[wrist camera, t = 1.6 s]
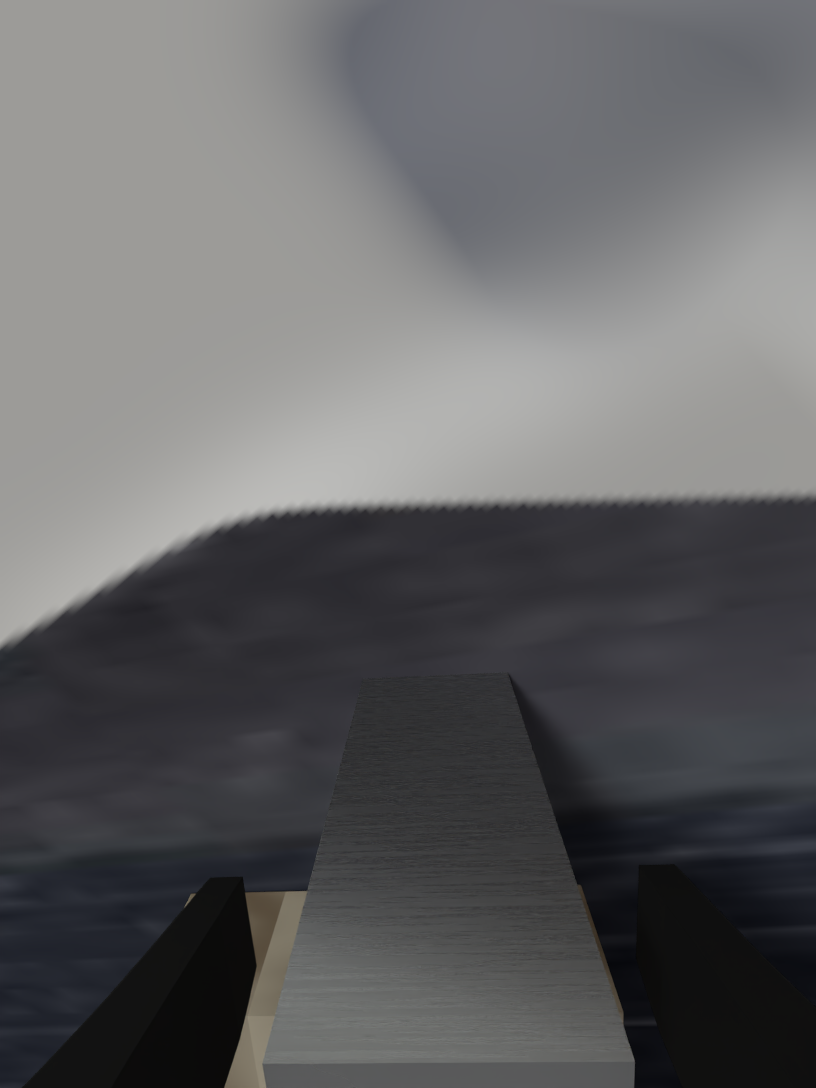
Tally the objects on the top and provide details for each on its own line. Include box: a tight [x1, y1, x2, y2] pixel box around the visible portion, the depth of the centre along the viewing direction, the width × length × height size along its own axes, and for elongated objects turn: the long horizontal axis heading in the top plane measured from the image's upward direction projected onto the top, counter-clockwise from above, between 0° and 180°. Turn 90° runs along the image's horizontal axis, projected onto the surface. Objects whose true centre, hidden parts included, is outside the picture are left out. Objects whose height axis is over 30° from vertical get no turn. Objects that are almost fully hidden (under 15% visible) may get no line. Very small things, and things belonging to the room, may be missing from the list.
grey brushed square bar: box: [262, 672, 635, 1088], centre depth 10 cm, size 4×4×9 cm
